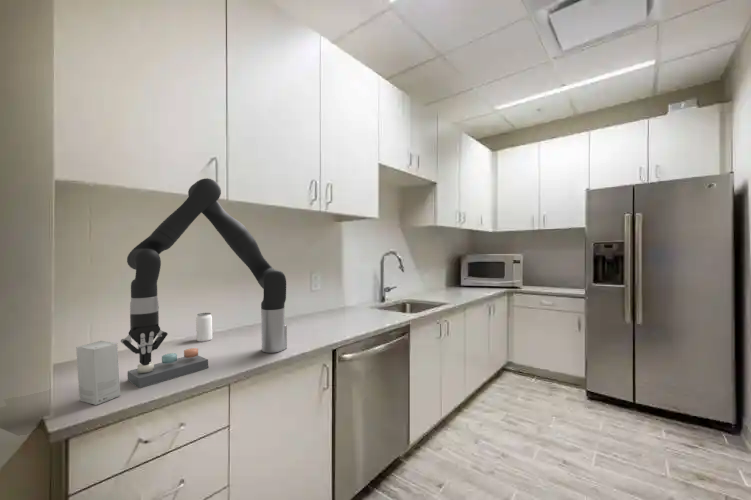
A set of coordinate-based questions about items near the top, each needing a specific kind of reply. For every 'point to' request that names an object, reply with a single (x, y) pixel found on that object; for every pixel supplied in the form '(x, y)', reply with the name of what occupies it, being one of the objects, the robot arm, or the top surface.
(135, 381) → the console
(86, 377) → the skincare box
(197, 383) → the top surface
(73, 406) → the top surface
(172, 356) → the teal button
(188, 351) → the terracotta button
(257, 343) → the top surface
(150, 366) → the cream button
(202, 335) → the can
